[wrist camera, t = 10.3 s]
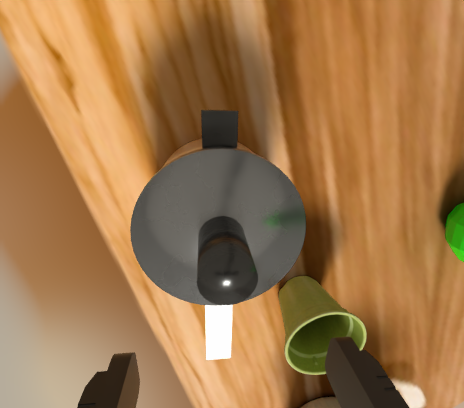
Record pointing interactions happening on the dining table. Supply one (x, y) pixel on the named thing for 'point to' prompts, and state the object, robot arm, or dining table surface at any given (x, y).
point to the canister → (323, 403)
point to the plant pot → (314, 324)
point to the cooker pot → (213, 135)
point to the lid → (218, 226)
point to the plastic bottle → (456, 231)
